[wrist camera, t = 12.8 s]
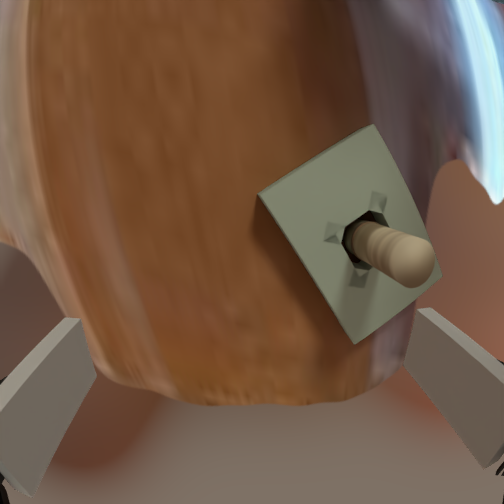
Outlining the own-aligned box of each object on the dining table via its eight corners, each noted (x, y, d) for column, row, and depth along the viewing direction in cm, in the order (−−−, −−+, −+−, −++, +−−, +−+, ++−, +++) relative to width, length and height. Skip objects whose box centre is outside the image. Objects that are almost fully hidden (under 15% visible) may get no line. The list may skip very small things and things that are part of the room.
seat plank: (257, 193, 31) (260, 195, 28) (361, 127, 30) (373, 123, 27) (345, 333, 35) (354, 344, 32) (429, 269, 34) (442, 276, 31)
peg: (333, 230, 32) (386, 257, 20) (363, 210, 32) (425, 226, 20) (350, 261, 33) (405, 299, 21) (378, 241, 33) (441, 269, 21)
